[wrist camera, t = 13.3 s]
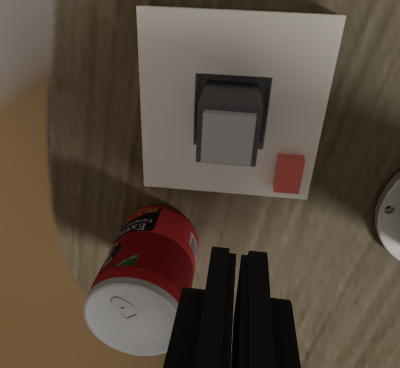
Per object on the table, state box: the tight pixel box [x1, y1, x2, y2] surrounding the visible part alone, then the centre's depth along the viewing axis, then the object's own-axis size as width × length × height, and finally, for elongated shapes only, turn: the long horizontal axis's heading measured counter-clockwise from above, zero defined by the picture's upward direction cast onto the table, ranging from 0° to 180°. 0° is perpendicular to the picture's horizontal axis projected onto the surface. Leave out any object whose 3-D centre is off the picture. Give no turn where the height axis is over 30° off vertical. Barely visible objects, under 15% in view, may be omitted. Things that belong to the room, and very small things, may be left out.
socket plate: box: [136, 5, 346, 200], centre depth 27 cm, size 14×14×3 cm
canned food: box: [83, 205, 198, 356], centre depth 31 cm, size 8×8×11 cm
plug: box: [196, 80, 263, 167], centre depth 25 cm, size 4×4×8 cm
